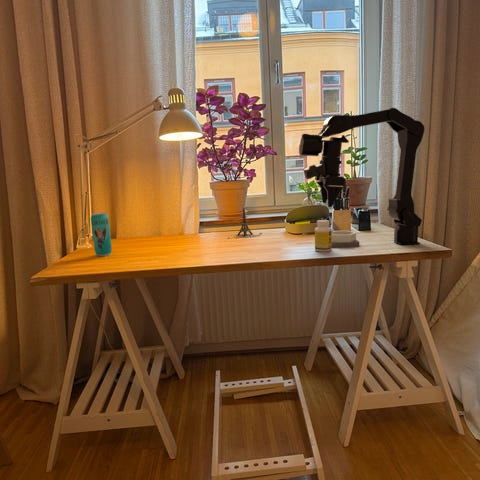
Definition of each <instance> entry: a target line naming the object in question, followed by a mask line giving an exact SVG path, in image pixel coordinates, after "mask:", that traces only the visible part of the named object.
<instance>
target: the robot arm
mask: <svg viewBox="0 0 480 480" xmlns="http://www.w3.org/2000/svg"><path fill="white" fill-rule="evenodd" d="M382 123H386V124H388V126H389V127H390V128H391V130H393V131H394V132H395V133H397V143H398V145H399V149H400V154H399V155H400V156H399V162H398V163H399V165H398V173H397V174H398V175H397V181H396V183H397V184H396V190H395V195H394V196H393V198H388V206H387V211H388V215H389V216H390V217H391V219H393V223H394V224H395V228H394V231H393V232H394V233H393V234H394V235H393V237H394V238H393V242H394V243H396V244H398V245H401V246H405V245H419V244H421V243H420V242H419V227H420V226H421V224H422V221H423V220H422V218H420V217H419V216H418V215H417V214H416V213H415V212H416V211H415V202H414V199H413V196H412V192H413V191H412V190H413V182H414V173H415V165H416V157H417V155H416V154H417V150H418V148H419V146H420V145H421V143H422V140H423V138H424V134H425V130H426V129H425V124H423V123H422V121H419V120H416V119H414V118H412V117H411V116H409V115H407V114H405V113H403V112H402V111H400V110H399V109H397V108H395V107H390V108H387V109H383V110H378V111H373V112H372V111H371V112H367V113H362V114H357V115H348V114H347V115H346V114H345V115H344V114H343V115H342V114H340V115H337V114H336V115H333V116H330V117H329V118H326V119H325V120H324V122H323V125H322V129H320V131H319V132H318V134H310V133H302V134H301V139H300V143H299V144H298V145H299V146H298V154H299V156H303V157H305V156H306V157H319V155H320V154H322V157H321V159H320V160H319V164H316V165H315V164H312V165H309V167H305V168H304V169H303V174H304V177H305V179H306V180H311V179H313V178H314V180H315V183H316V184H317V185H318V186H319V188H320V194H321V201H322V203H323V204H326V203H327V206H328V208H332V207H333V205H334V204H335V202H336V200H337V199H338V197H339V195H340V193H341V191H342V190H343V189H344V187H345V186H346V178H345V177H344V176H342V175H341V173H340V166H341V164H342V160H341V155H342V146H343V145H342V144H348V143H349V142H350V141H349V140H348V138H347V137H346V135H345V134H343V133H345V132H349V131H350V130H353V129H356V128H360V127H366V126H371V125H376V124H382ZM340 134H341V135H340ZM336 135H340V136H337V137H335V136H336ZM329 137H330V138H329ZM325 138H329V139H328V140H327V139H326V140H325Z"/></svg>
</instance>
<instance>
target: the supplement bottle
mask: <svg viewBox="0 0 480 480" xmlns="http://www.w3.org/2000/svg"><path fill="white" fill-rule="evenodd" d="M316 226H317V227H315V228H314V251H316V252H324V253H325V252H326V251H327V252H331V251H332V249H333V247H332V231H333V230H332V228H331V227H330V220H327V219H321V220H320V219H318V220H316ZM327 252H326V253H327Z"/></svg>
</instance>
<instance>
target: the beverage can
mask: <svg viewBox="0 0 480 480" xmlns="http://www.w3.org/2000/svg"><path fill="white" fill-rule="evenodd" d="M90 215H91V216H90V223H91V231H92V240H93V248H94V252H95V255H96V256H97V257H109V256H110V255H112V250H113V249H112V239H111V230H110V222H109V220H110V219H109V216H108V215H107V212H103V211H102V212H94V213H91V214H90Z"/></svg>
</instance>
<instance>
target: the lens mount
mask: <svg viewBox="0 0 480 480" xmlns="http://www.w3.org/2000/svg"><path fill="white" fill-rule="evenodd" d="M345 247H346V248H349V247H350V248H351V247H360V240H357V232H355V231H352V230H332V248H345Z"/></svg>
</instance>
